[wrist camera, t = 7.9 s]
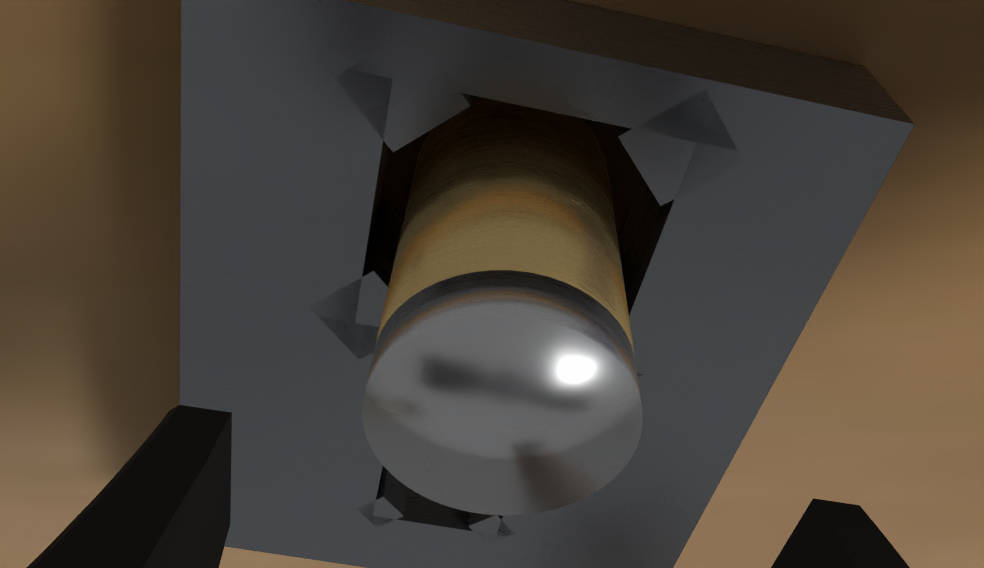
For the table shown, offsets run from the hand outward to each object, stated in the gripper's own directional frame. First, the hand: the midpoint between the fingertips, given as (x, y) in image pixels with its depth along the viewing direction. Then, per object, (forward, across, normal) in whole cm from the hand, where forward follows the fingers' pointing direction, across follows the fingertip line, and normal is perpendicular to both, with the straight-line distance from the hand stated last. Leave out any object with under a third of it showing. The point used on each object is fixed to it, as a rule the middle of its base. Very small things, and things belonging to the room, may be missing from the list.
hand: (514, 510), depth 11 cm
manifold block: (+9, 0, +3) cm, 9 cm away
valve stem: (+9, 0, 0) cm, 9 cm away
